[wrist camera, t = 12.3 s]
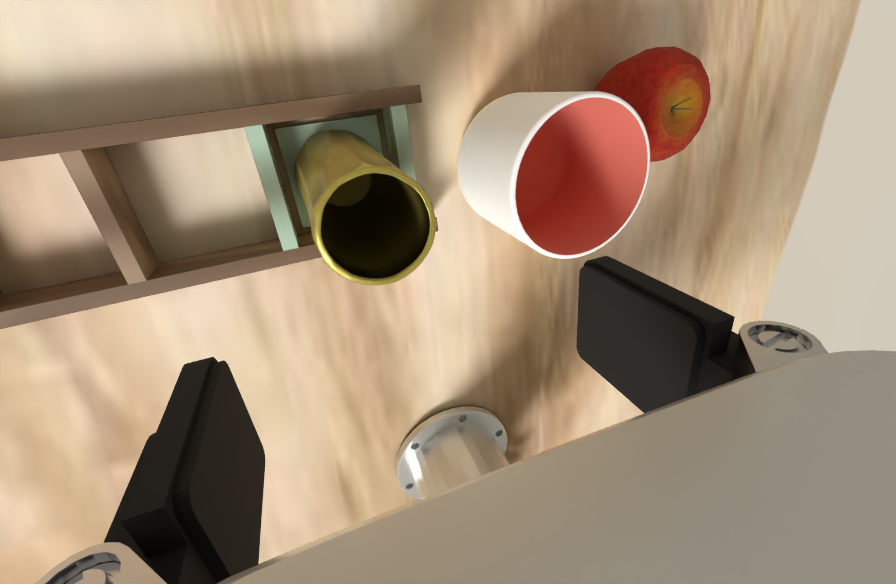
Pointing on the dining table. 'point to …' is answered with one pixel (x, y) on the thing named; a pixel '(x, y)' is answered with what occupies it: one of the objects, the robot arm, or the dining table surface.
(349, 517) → the dining table surface
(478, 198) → the cup
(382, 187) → the vase
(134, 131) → the wooden compartment tray
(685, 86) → the apple
